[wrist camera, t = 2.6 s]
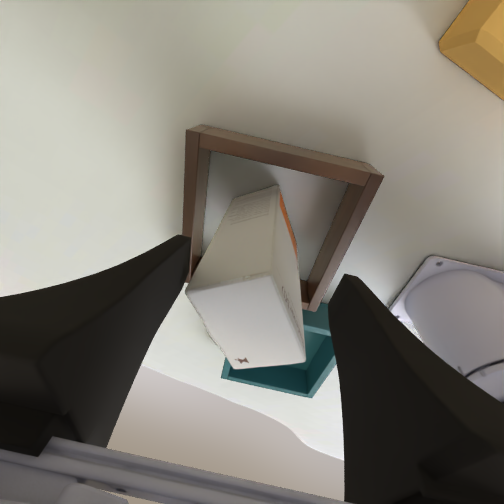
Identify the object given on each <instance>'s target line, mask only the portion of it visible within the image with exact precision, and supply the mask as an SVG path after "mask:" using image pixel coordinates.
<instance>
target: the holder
mask: <svg viewBox="0 0 504 504" xmlns="http://www.w3.org/2000/svg"><path fill="white" fill-rule="evenodd" d="M210 150H211V151H216V152H220V153H224V154H229V155H233V156H237V157H241V158H246V159H250V160H254V161H258V162H263V163H267V164H271V165H276V166H280V167H284V168H288V169H293V170H297V171H301V172H305V173H310V174H314V175H318V176H323V177H327V178H331V179H335V180H340V181H344V182H348V183H349V185H348V187H347V190H346V192H345V194H344V197H343V199H342V201H341V204H340V206H339V208H338V211H337V213H336V215H335V218H334V220H333V222H332V224H331V227H330V229H329V231H328V234H327V236H326V238H325V241H324V243H323V245H322V248H321V250H320V252H319V255H318V257H317V259H316V262H315V264H314V266H313V269H312V271H311V273H310V275H309V278H308V280H307V281H304V280H300V290H301V303H302V309H304V310H306V309H307V310H309V311H313V312H316V310H317V308H318V306H319V304H320V302H321V301H322V299H323V297H324V295H325V293H326V291H327V289H328V287H329V285H330V283H331V281H332V279H333V277H334V275H335V273H336V271H337V269H338V267H339V265H340V263H341V261H342V259H343V257H344V255H345V253H346V251H347V249H348V247H349V245H350V243H351V241H352V239H353V237H354V235H355V234H356V232H357V230H358V228H359V226H360V224H361V222H362V220H363V218H364V216H365V214H366V212H367V210H368V208H369V206H370V204H371V202H372V200H373V198H374V196H375V194H376V192H377V190H378V188H379V186H380V184H381V182H382V180H383V178H384V175H382V174H381V173H380V172H379V171H378V170H376V169H375V168H374V167H373V166H371V165H370V164H368V163H363V162H358V161H355V160H351V159H347V158H342V157H338V156H334V155H330V154H325V153H321V152H317V151H313V150H308V149H304V148H300V147H296V146H291V145H287V144H283V143H279V142H274V141H270V140H266V139H262V138H257V137H253V136H249V135H245V134H240V133H236V132H232V131H228V130H223V129H219V128H215V127H210V126H206V125H202V124H201V125H198V126H195V127H192V128H189V129H187V130H186V145H185V173H184V202H183V230H182V235H183V236H187V237H191V251H190V266H189V273H188V276H187V278H186V281H185V282H186V283H189V282H190V280H191V278H192V277H193V275H194V273H195V271H196V269H197V267H198V265H199V263H200V261H201V260H202V258H203V257H201V248H202V237H203V226H204V215H205V204H206V193H207V182H208V171H209V160H210Z"/></svg>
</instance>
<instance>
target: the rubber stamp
mask: <svg viewBox="0 0 504 504" xmlns="http://www.w3.org/2000/svg"><path fill="white" fill-rule="evenodd" d="M439 47H440V52H441V53H443V54H444V55H445V56H447V57H448V58H449V59H450V60H452V61H453V62H454V63H456V64H457V65H458V66H460V67H461V68H462V69H463V70H465V71H466V72H467V73H469V74H470V75H471V76H473V77H474V78H475V79H476V80H478V81H479V82H480V83H482V84H483V85H484V86H486V87H487V88H488V89H489V90H491V91H492V92H493V93H495V94H496V95H497V96H499V97H500V98H501V99H502V100H504V0H469V2H468V3H467V4H466V6H465V7H464V8H463V10H462V11H461V12H460V14H459V15H458V16H457V18H456V19H455V20H454V22H453V23H452V25H451V26H450V27H449V29H448V30H447V31H446V33H445V34H444V35H443V37H442V38H441V39H440V41H439Z"/></svg>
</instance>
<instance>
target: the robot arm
mask: <svg viewBox="0 0 504 504" xmlns="http://www.w3.org/2000/svg"><path fill="white" fill-rule="evenodd" d="M190 251H191V237H187V236H183V235H179V234H178V235H176V236H174V237H173V238H171V239H169V240H167V241H165V242H164V243H162V244H160V245H158V246H156V247H154V248H153V249H151V250H149V251H147V252H145V253H143V254H141V255H139V256H137V257H135V258H132V259H130V260H128V261H126V262H124V263H122V264H119V265H117V266H114V267H112V268H109V269H107V270H104V271H101V272H99V273H96V274H93V275H90V276H86V277H83V278H80V279H77V280H73V281H70V282H67V283H63V284H59V285H55V286H51V287H47V288H43V289H39V290H34V291H30V292H25V293H21V294H16V295H10V296H4V297H0V504H128V501H127V500H126V499H123V498H121V497H118V496H116V495H112V494H110V493H107V492H105V491H109V492H114V493H119V494H123V495H128V496H132V497H136V498H141V499H146V500H150V501H155V502H159V503H164V504H504V272H503V271H498V270H494V269H490V268H485V267H481V266H477V265H472V264H468V263H464V262H460V261H455V260H451V259H447V258H442V257H438V256H430V257H428V258H427V259H426V260H425V262H424V263H423V264H422V266H421V267H420V268H419V270H418V271H417V272H416V274H415V275H414V276H413V278H412V279H411V280H410V282H409V283H408V284H407V286H406V287H405V288H404V289H403V291H402V292H401V293H400V295H399V296H398V297H397V299H396V300H395V301H394V303H393V304H392V305H391V307H390V308H389V309H388V308H387V307H386V306H385V305H384V304H383V303H382V302H381V301H380V300H379V299H378V298H377V297H376V295H375V294H374V293H373V292H372V291H371V290H370V289H369V288H368V287H367V286H366V285H365V284H364V282H363V281H362V280H361V279H359V278H358V277H357V276H353V275H348V274H344V275H343V277H342V279H341V281H340V283H339V285H338V287H337V288H336V290H335V292H334V294H333V296H332V298H331V299H330V301H329V303H328V320H329V328H330V334H331V339H332V344H333V349H334V354H335V359H336V364H337V369H338V375H339V382H340V392H341V403H342V418H343V437H344V469H345V470H344V472H345V473H344V474H345V475H344V477H345V478H344V479H345V480H344V482H345V496H344V501H339V500H334V499H331V498H326V497H321V496H317V495H313V494H308V493H304V492H299V491H294V490H290V489H286V488H281V487H277V486H272V485H267V484H263V483H259V482H254V481H250V480H245V479H241V478H237V477H232V476H228V475H223V474H218V473H214V472H210V471H205V470H201V469H196V468H192V467H187V466H183V465H178V464H174V463H169V462H165V461H161V460H156V459H152V458H147V457H142V456H138V455H134V454H129V453H124V452H120V451H116V450H112V449H107V448H106V447H107V445H108V442H109V439H110V437H111V435H112V432H113V429H114V427H115V425H116V422H117V420H118V417H119V414H120V412H121V410H122V407H123V405H124V402H125V400H126V398H127V395H128V393H129V391H130V388H131V386H132V384H133V381H134V379H135V377H136V375H137V372H138V370H139V368H140V366H141V363H142V361H143V359H144V357H145V355H146V352H147V350H148V348H149V346H150V344H151V342H152V340H153V338H154V336H155V334H156V332H157V330H158V328H159V327H160V325H161V323H162V322H163V320H164V318H165V317H166V315H167V313H168V312H169V310H170V308H171V307H172V305H173V303H174V302H175V300H176V298H177V297H178V295H179V293H180V291H181V290H182V287H183V285H184V283H185V281H186V278H187V276H188V273H189V266H190ZM437 262H439V263H438V264H436V263H437ZM396 315H397V316H396ZM400 321H402V322H406V323H410V324H413V325H414V327H415V328H416V330H417V332H418V334H419V335H420V337H421V339H422V341H423V343H422V342H421V341H420V340H419V339H418V338H417V337H416V336H415V335H414V334H412V333H411V332H410V331H409V330H408V329H407V328H406V327H405V326H404V325H403V324H402V323H401V322H400ZM99 489H100V490H99ZM102 490H105V491H102Z"/></svg>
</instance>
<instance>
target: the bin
mask: <svg viewBox="0 0 504 504" xmlns="http://www.w3.org/2000/svg"><path fill="white" fill-rule="evenodd" d="M302 315H303V327H304V340H305V354H306V361H305V362H302V363H295V364H287V365H277V366H266V367H255V368H245V369H234V368H233V367H232V366H231V364H230V363H229V361H228V360H227V358H226V357H225V362H224V366H223V370H222V375H221V378H223V379H227V380H231V381H236V382H240V383H245V384H249V385H254V386H258V387H263V388H267V389H272V390H276V391H280V392H285V393H289V394H294V395H298V396H303V397H308V398H312V397H313V396H314V395H315V393H316V392H317V390H318V389H319V388H320V386H321V385H322V383H323V382H324V381H325V379H326V378H327V376H328V375H329V373H330V372H331V371H332V369H333V368H334V366H335V365H336V359H335V354H334V349H333V344H332V339H331V334H330V328H329V320H328V304H325V303H321V302H320V304H319V306H318V308H317V310H316V312H313V311H309V310H307V309H306V310H304V309H302Z"/></svg>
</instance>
